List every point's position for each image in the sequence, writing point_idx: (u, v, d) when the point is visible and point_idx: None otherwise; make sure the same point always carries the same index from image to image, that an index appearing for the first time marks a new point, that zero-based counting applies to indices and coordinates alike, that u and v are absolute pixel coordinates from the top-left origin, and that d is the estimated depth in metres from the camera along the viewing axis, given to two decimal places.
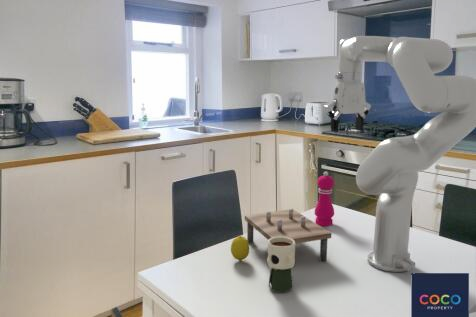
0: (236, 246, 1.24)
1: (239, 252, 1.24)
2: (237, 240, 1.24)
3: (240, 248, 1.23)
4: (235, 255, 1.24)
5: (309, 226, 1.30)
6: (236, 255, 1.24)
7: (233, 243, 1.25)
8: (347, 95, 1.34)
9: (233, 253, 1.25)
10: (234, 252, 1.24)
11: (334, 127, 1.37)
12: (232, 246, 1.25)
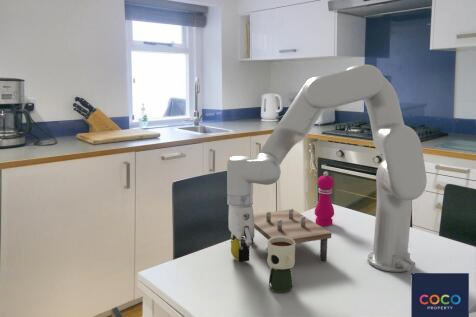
0: (236, 246, 1.24)
1: None
2: (237, 240, 1.24)
3: None
4: (235, 255, 1.24)
5: (309, 226, 1.30)
6: (236, 255, 1.24)
7: (233, 243, 1.25)
8: None
9: (233, 253, 1.25)
10: (234, 252, 1.24)
11: None
12: (232, 246, 1.25)
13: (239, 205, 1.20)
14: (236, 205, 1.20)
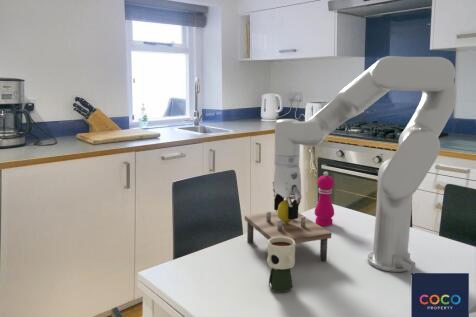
0: (283, 208, 1.29)
1: (286, 214, 1.29)
2: (284, 203, 1.30)
3: None
4: (282, 217, 1.30)
5: (309, 226, 1.30)
6: (283, 217, 1.30)
7: (280, 206, 1.30)
8: None
9: (280, 216, 1.30)
10: (281, 214, 1.30)
11: None
12: (279, 209, 1.30)
13: (287, 165, 1.25)
14: (284, 165, 1.25)
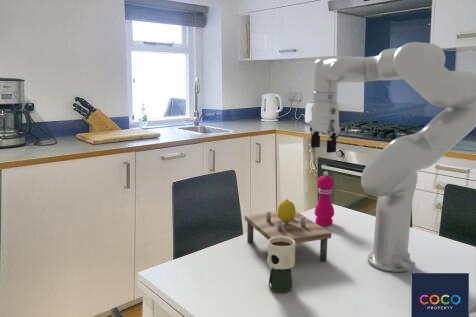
0: (284, 208, 1.29)
1: (286, 214, 1.29)
2: (284, 203, 1.30)
3: (288, 210, 1.29)
4: (282, 217, 1.30)
5: (309, 226, 1.30)
6: (283, 217, 1.29)
7: (280, 206, 1.30)
8: None
9: (280, 216, 1.30)
10: (281, 214, 1.30)
11: None
12: (279, 209, 1.30)
13: (326, 101, 1.34)
14: (323, 101, 1.34)
